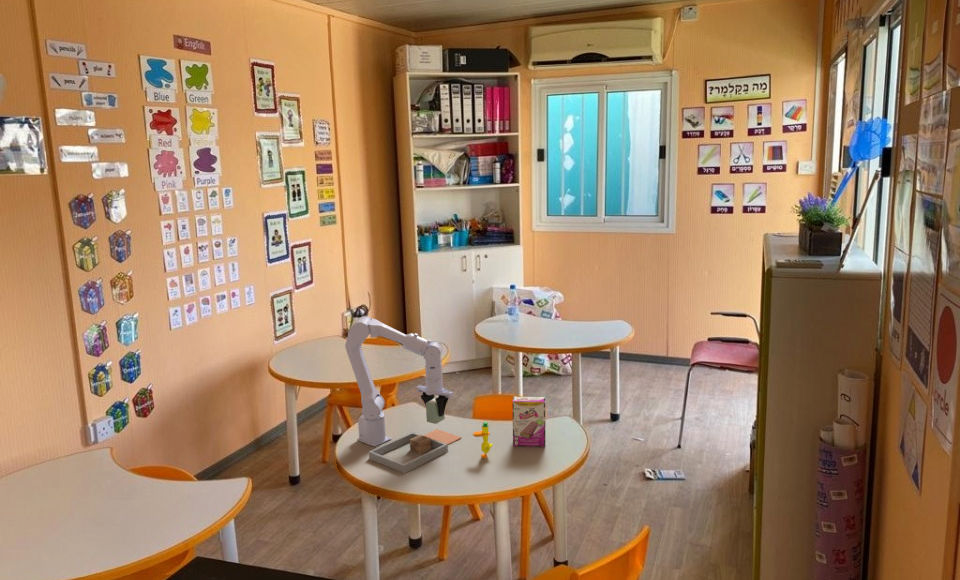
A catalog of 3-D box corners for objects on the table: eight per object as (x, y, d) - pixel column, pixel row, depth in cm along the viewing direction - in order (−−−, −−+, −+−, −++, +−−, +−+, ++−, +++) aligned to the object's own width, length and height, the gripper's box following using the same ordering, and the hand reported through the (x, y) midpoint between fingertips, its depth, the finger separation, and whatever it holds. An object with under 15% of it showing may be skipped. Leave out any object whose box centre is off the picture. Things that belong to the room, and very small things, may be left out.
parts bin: (369, 458, 229) (368, 451, 229) (413, 438, 244) (412, 432, 244) (404, 473, 218) (403, 465, 218) (447, 451, 233) (447, 444, 233)
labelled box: (426, 421, 240) (425, 402, 238) (435, 416, 244) (434, 397, 242) (436, 423, 238) (435, 404, 236) (444, 419, 242) (443, 399, 240)
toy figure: (474, 460, 226) (473, 425, 223) (472, 455, 229) (471, 421, 227) (494, 458, 227) (493, 423, 224) (492, 453, 230) (491, 419, 228)
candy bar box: (512, 447, 235) (511, 401, 231) (513, 440, 240) (512, 396, 236) (546, 447, 234) (545, 401, 230) (546, 441, 238) (545, 396, 235)
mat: (419, 438, 244) (419, 437, 244) (436, 430, 251) (436, 429, 251) (443, 447, 236) (443, 445, 236) (461, 438, 243) (461, 437, 243)
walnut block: (410, 450, 235) (409, 439, 234) (420, 445, 239) (420, 434, 238) (420, 454, 232) (420, 443, 231) (431, 449, 236) (430, 438, 235)
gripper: (410, 377, 238) (412, 414, 241) (444, 383, 231) (446, 422, 233) (422, 371, 244) (424, 408, 247) (456, 377, 236) (458, 415, 239)
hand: (436, 414), depth 240 cm, fingers closed on labelled box, 4 cm apart
